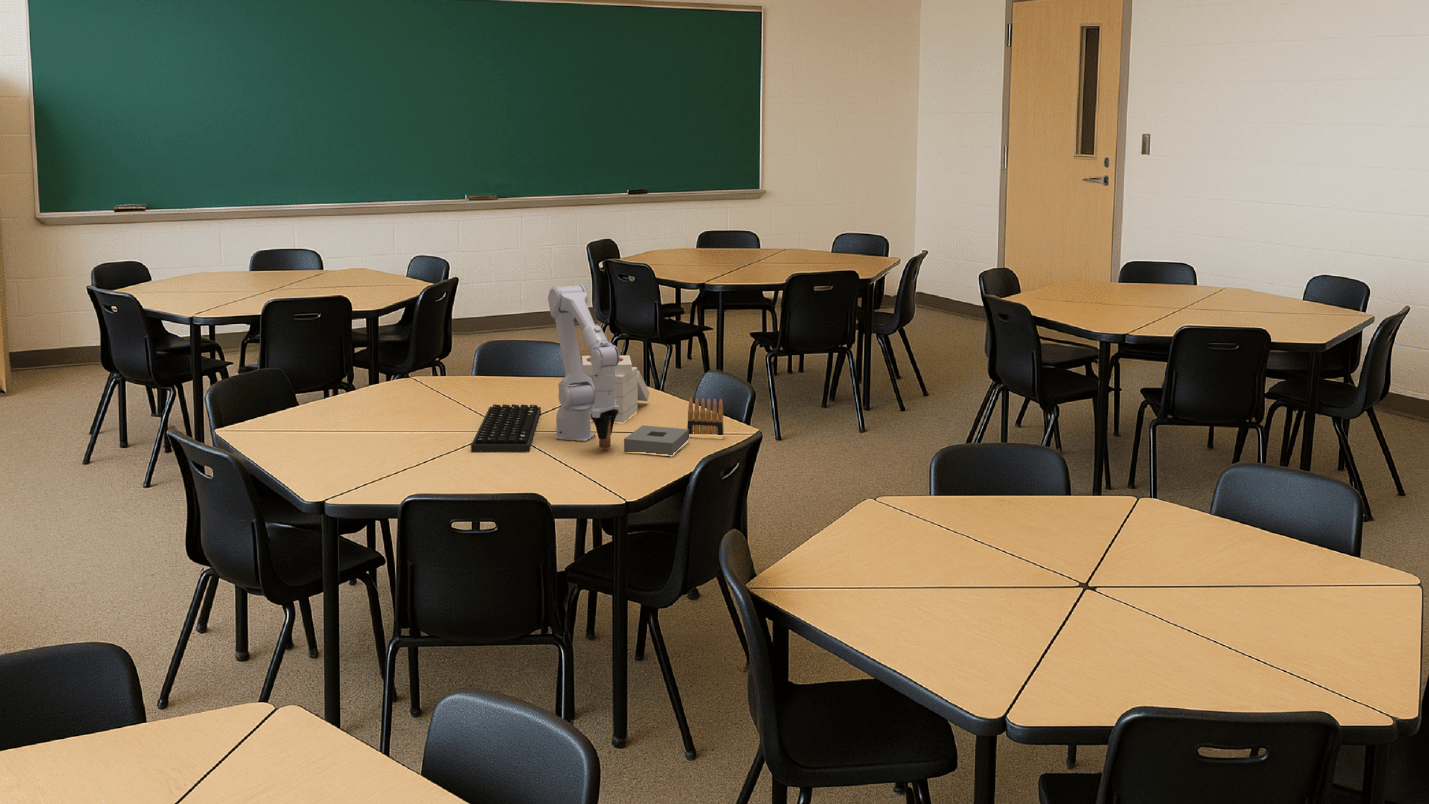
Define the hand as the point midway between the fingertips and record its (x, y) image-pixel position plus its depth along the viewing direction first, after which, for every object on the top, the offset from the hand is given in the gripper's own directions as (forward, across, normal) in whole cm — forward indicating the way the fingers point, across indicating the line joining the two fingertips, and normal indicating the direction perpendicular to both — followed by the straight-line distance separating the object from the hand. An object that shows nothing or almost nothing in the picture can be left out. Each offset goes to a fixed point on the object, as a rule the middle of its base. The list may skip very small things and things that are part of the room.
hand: (604, 436), depth 324 cm
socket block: (+4, +7, -13) cm, 15 cm away
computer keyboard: (+5, +10, +34) cm, 36 cm away
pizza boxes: (+4, +42, +13) cm, 44 cm away
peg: (+3, 0, 0) cm, 3 cm away
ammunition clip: (+4, +22, -23) cm, 32 cm away
